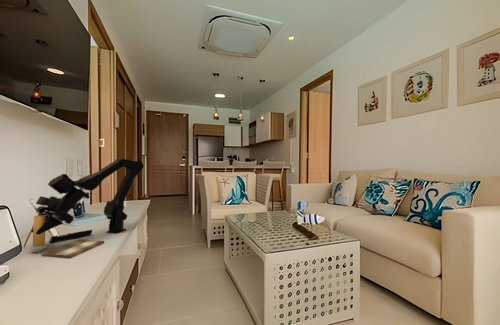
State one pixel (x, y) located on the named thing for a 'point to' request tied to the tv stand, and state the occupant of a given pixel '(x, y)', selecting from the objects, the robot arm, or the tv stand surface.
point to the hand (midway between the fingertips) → (34, 233)
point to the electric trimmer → (70, 236)
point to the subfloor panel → (73, 248)
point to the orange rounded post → (39, 239)
